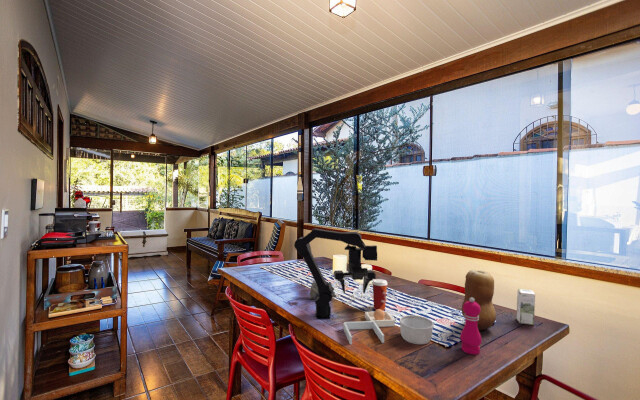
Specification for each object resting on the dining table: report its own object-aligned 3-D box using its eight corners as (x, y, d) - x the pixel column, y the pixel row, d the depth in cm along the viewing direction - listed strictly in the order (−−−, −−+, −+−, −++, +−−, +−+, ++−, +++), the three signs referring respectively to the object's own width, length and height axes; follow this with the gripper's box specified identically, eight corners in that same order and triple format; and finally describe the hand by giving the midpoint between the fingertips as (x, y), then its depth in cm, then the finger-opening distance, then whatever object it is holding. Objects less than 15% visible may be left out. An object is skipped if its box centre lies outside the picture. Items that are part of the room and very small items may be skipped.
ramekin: (428, 349, 119) (429, 331, 119) (394, 340, 126) (394, 323, 126) (436, 336, 130) (436, 319, 130) (404, 328, 137) (405, 312, 137)
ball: (372, 318, 146) (372, 307, 146) (382, 317, 147) (382, 307, 146) (375, 323, 141) (375, 311, 141) (386, 322, 142) (386, 311, 141)
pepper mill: (456, 346, 122) (457, 294, 121) (474, 345, 123) (475, 294, 122) (466, 355, 115) (468, 301, 114) (485, 355, 115) (487, 300, 115)
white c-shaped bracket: (349, 344, 122) (349, 336, 122) (343, 329, 136) (343, 322, 136) (384, 342, 124) (384, 335, 124) (374, 327, 137) (374, 321, 137)
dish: (371, 327, 138) (371, 321, 138) (364, 317, 149) (365, 311, 149) (394, 326, 139) (394, 320, 139) (386, 316, 150) (386, 311, 150)
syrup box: (530, 320, 147) (531, 289, 147) (534, 325, 142) (535, 293, 141) (516, 318, 149) (517, 288, 149) (519, 323, 144) (520, 292, 143)
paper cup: (387, 311, 156) (387, 283, 155) (371, 310, 157) (371, 282, 157) (387, 306, 163) (387, 279, 163) (372, 304, 165) (372, 278, 165)
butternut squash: (502, 334, 133) (504, 274, 132) (473, 336, 131) (475, 275, 130) (480, 320, 147) (482, 266, 146) (454, 322, 144) (455, 267, 144)
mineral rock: (337, 300, 172) (337, 281, 172) (323, 305, 164) (324, 285, 164) (320, 294, 181) (320, 277, 180) (306, 299, 173) (306, 280, 173)
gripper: (337, 263, 137) (337, 299, 137) (379, 263, 139) (378, 298, 139) (333, 258, 148) (333, 291, 148) (372, 257, 150) (371, 290, 150)
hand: (354, 293), depth 146 cm, fingers open, 9 cm apart
